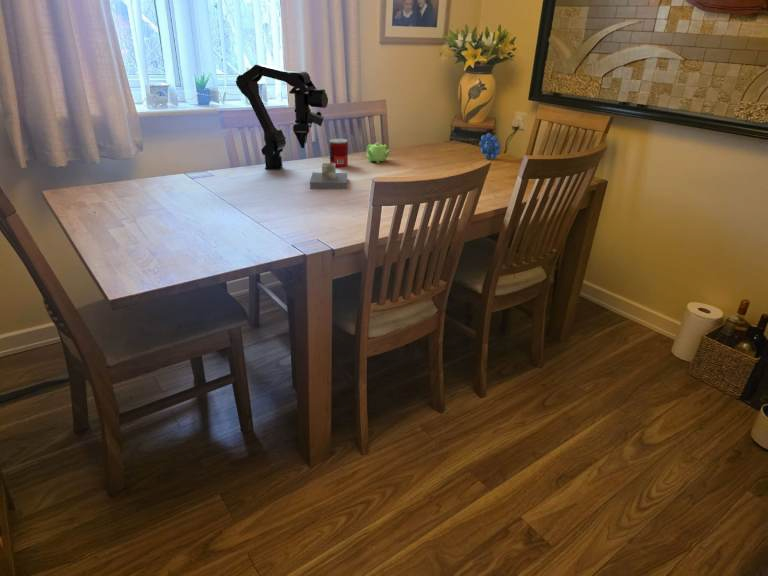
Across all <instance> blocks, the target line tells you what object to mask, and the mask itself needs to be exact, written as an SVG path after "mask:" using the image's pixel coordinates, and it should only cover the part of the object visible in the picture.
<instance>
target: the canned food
mask: <svg viewBox="0 0 768 576" xmlns="http://www.w3.org/2000/svg"><path fill="white" fill-rule="evenodd" d="M348 143H349V142H348V139H346V138H331V139H330V140H329V163H336V168H345V167H347V166H348V164H349V162H348V157H349V156H348V155H349V152H348V151H349V149H348V146H349V145H348Z"/></svg>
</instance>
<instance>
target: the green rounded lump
mask: <svg viewBox="0 0 768 576" xmlns="http://www.w3.org/2000/svg"><path fill="white" fill-rule="evenodd" d="M387 148H388V145H387V144H380V142H374V144H368V145H367V147H366V150H365V151H366V158H367V159H368V161H369V163H372V162H375V164H380V163H381V162H383V163H384V162H386V160H387V158H388V156H389V155H390V153H391V152H392V149H391V148H389V149H388V150H387Z"/></svg>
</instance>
